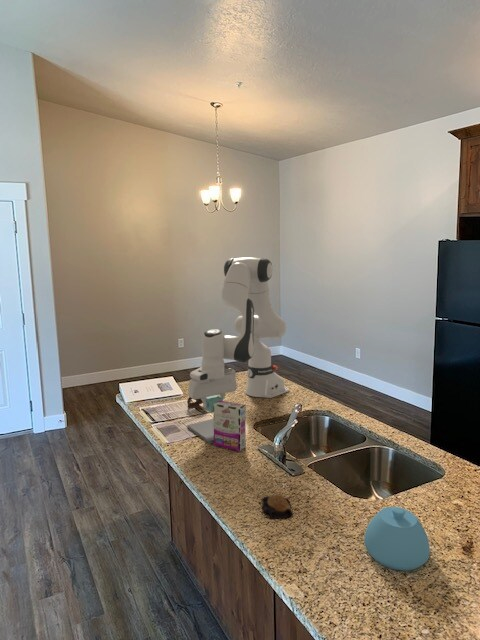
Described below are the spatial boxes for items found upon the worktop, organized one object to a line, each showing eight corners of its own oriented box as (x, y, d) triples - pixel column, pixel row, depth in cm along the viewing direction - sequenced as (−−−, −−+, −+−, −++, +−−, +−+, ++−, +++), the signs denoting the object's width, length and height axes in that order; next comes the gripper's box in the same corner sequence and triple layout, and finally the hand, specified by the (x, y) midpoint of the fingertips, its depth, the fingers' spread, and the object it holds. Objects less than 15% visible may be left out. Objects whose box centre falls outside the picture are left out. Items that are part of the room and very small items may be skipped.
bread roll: (259, 501, 136) (259, 489, 135) (287, 499, 137) (287, 487, 136) (265, 522, 126) (265, 510, 125) (295, 520, 126) (295, 508, 126)
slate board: (217, 420, 195) (217, 417, 195) (240, 435, 180) (240, 432, 180) (187, 427, 187) (187, 425, 187) (209, 443, 173) (209, 440, 172)
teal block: (215, 406, 186) (215, 394, 185) (222, 410, 181) (222, 398, 181) (204, 409, 183) (204, 397, 182) (211, 412, 179) (210, 400, 178)
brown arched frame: (212, 412, 205) (204, 399, 202) (193, 421, 206) (184, 408, 202) (210, 397, 216) (202, 384, 212) (192, 406, 217) (183, 393, 213)
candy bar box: (246, 447, 170) (246, 404, 167) (240, 452, 166) (240, 408, 163) (220, 441, 175) (219, 399, 172) (213, 446, 171) (212, 403, 168)
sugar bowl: (353, 556, 111) (355, 512, 109) (377, 526, 123) (379, 486, 121) (417, 584, 102) (420, 537, 100) (436, 549, 114) (440, 506, 112)
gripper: (231, 365, 188) (231, 398, 190) (186, 373, 177) (186, 408, 179) (239, 369, 183) (239, 403, 185) (193, 377, 171) (194, 413, 174)
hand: (213, 405), depth 182 cm, fingers closed on teal block, 5 cm apart
